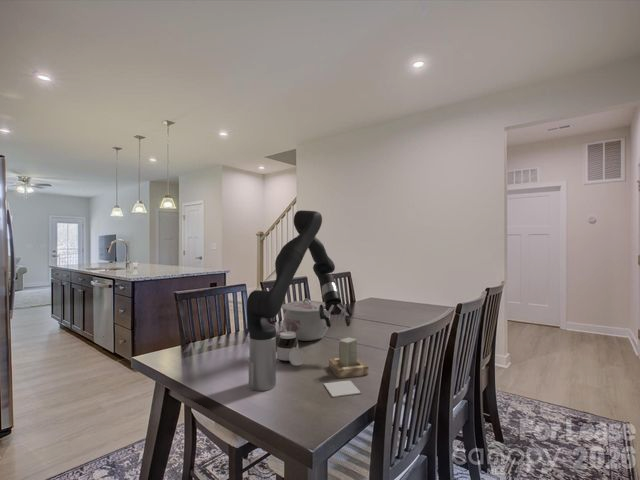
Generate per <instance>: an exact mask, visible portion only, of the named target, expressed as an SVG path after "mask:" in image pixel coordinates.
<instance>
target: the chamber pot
mask: <svg viewBox="0 0 640 480" xmlns="http://www.w3.org/2000/svg"><path fill="white" fill-rule="evenodd" d="M320 305H323V306H325V302H324V301H318V300H310V299H309V298H304V299H303V300H295V301H290V302H286V303H283V304H282V307H281V309H282V310H284V311H285V312H284V314H283V323H284V327H285V330H286V331H292V332H295V333H296V338H297V340H298V341H301V342H313V341H316V340H319V339H322V338H323V337H324V336H325V334H326V333H327V331H328V329H329V328H328V326H326V322H325V319H320V313H319V307H320ZM327 313H328V311H327V310H326V309H324V315H326V314H327ZM328 318H329V319H330V320H331V315H330V316H329V317H328Z"/></svg>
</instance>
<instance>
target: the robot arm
mask: <svg viewBox="0 0 640 480" xmlns="http://www.w3.org/2000/svg"><path fill="white" fill-rule="evenodd" d="M322 223H323V216H322V214H321V213H320V212H318V211H315V210H303V209H302V210H297V211H296V212H295V214H294V216H293V226H294V229H295V230H296V232H297V233H298V235H297V236H295V237H294V238H292V239H291V240H289V241H288V242H286V244H284V245H283V246H282V247H281V249H280V251H279V253H278V254H277V257H276V258H275V261H274V268H275V281H274V283H273V285H272V287H271V289H270V290H259V289H256V290H253V291H251V292H250V294H249V295H248V296H247V300H246V325H247V326H246V327H247V331H248V334H249V336H248V337H249V341H248V342H249V347H248V348H249V349H248V350H249V352H248V353H249V354H248V356H249V357H248V388H249V391H258V392H259V391H261V392H263V391H269V390H271V389H274V388H275V387H276V386H277V385H276V383H277V378H276V377H277V375H276V373H277V370H276V369H277V364H276V363H277V330H276V327H275V326H273V325H272V324H271V323H270V322H269V321H268V320H267V319H273V318H275V317H277V315H278V314H279V313H280V311H281V309H282V308H281V307H282V305H283V304H284V301H285V298H286V295H287V293H288V291H289V288H290V286H291V283H292V281H293V279H294V277H295V275H296V273H297V271H298V269H299V267H300V265H301V263H302V261H303V259H304V257H305V255H306V253H307V251H309V253H310V256H311V258H312V261H313V262H314V264H313V266H312V269H313V272H314V274H315V276H316V277H317V278H318V280H319V283H320V288H321V293H322V297H323V302H325V306H323V305H320V307H319V313H320V319H325V322H326V326H328V329H329V328H331V325H332V324H331V318H330V319H329V318H328V317H329V316H330V317H331V316H335V315H337V316H341V317H343V318H344V320H345V325H346V326H347V327H350V325H351V318H352V316H353V313H354V312H353V311H352V309H351V306H350V303H348V302H347V303H346V304H343V302H342V298H341V295H340V292H339V289H338V288H339V287H338V286H337V283H336V279H335V276H334V275H332V273H333V272H334V271H335V269H336V268H335V267H336V266H335V263H334V261H333V260H332V259H331V258H330V256H329V255H328V253H327V251H326V249H325V246H324V244H323V243H322V241H321V240H320V239H318V238H317V235H318V233H319V231H320V229H321V226H322ZM324 309H326V310H327V311H328V313H327V314H326V315H324Z"/></svg>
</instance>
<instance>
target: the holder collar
mask: <svg viewBox="0 0 640 480" xmlns="http://www.w3.org/2000/svg"><path fill="white" fill-rule="evenodd" d="M328 367H329V369H331V371H332V372H333V373H334V374H335V375H336V377H337V378H338V379H341V378H349V377H359V376H366V375H367V376H368V375H369V366H368V365H367V364H366V363H365V362H364V361H362V359H360V358H359V357H358V356H357V366H351V367H341V366H340V365H339V357H335V358H329V359H328Z"/></svg>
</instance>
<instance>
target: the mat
mask: <svg viewBox="0 0 640 480" xmlns="http://www.w3.org/2000/svg"><path fill="white" fill-rule="evenodd" d="M323 386H324V387H325V388H326V390H327V392H328V393H329V395H330V396H331V397H332V398H339V397H345V396H353V395H360V394H362V393H361V391H360V390H359V389H358V388H357V386H356V385H355V384H354V383H353V382H352V380H343V381H334V382H332V381H331V382H325V383H323Z"/></svg>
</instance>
